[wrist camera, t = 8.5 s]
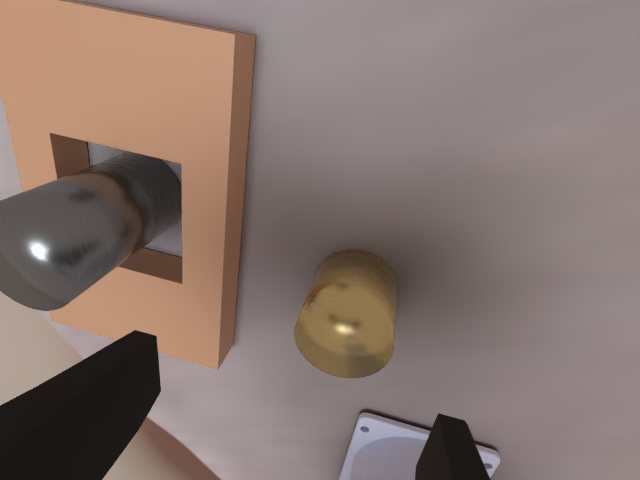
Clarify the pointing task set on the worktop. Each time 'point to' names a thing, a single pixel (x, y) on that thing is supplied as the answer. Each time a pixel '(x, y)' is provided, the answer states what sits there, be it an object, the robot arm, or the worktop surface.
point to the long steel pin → (83, 227)
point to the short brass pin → (349, 315)
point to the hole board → (139, 152)
